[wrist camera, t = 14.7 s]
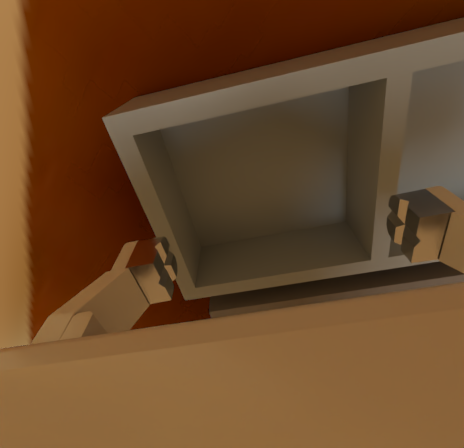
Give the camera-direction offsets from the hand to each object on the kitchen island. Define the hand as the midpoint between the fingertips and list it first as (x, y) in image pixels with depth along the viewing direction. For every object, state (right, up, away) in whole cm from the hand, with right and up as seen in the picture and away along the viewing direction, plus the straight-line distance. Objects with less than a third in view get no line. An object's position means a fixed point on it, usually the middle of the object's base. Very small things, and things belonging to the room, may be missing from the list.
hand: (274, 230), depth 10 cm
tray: (+5, +4, +4) cm, 7 cm away
